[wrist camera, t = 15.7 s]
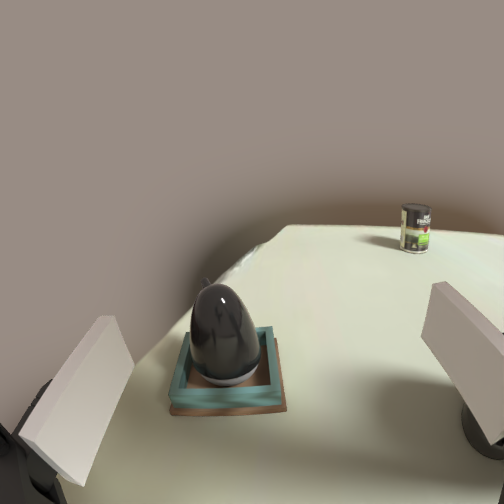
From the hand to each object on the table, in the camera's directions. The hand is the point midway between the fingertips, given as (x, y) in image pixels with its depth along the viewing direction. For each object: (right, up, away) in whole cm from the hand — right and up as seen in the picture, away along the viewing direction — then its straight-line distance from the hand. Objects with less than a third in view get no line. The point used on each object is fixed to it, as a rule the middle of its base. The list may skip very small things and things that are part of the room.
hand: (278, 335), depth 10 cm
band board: (-5, -16, +31) cm, 35 cm away
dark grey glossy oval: (-4, -15, +30) cm, 34 cm away
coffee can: (+52, +4, +72) cm, 89 cm away
